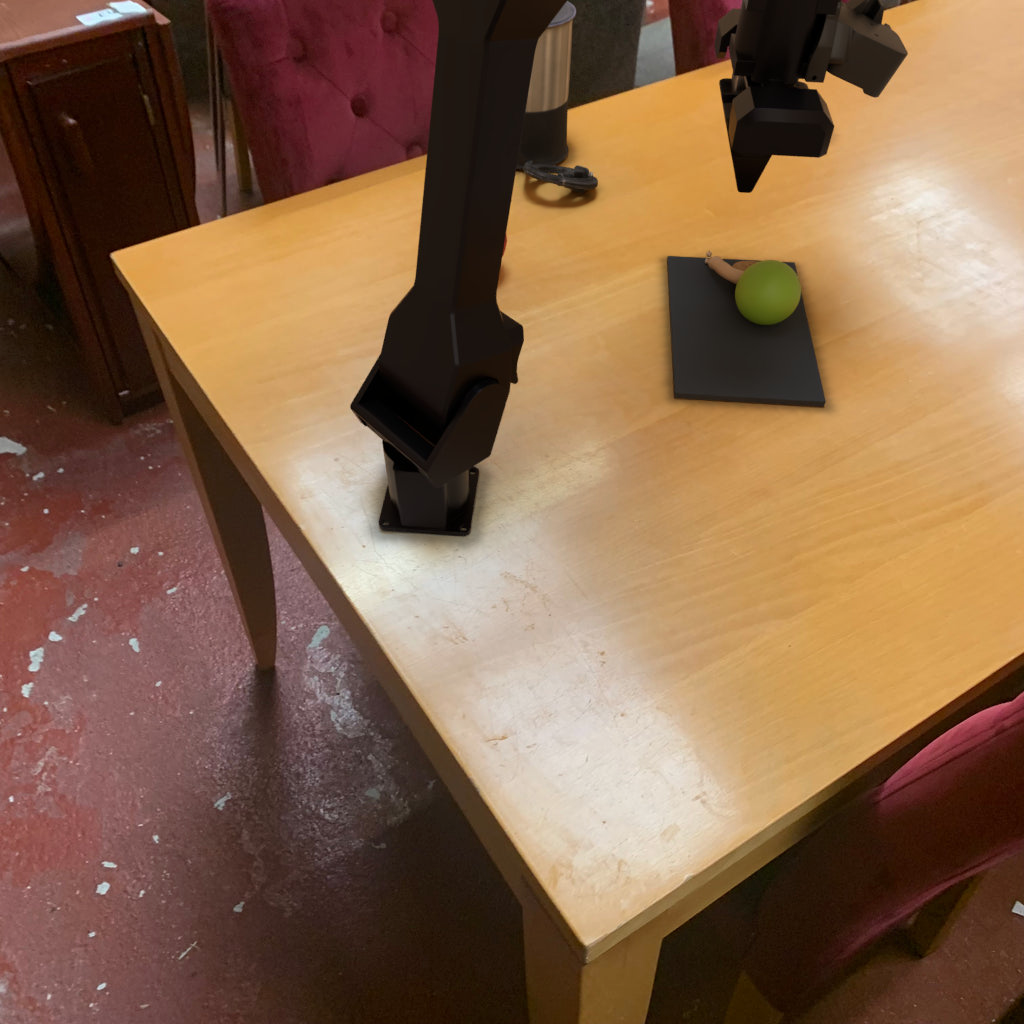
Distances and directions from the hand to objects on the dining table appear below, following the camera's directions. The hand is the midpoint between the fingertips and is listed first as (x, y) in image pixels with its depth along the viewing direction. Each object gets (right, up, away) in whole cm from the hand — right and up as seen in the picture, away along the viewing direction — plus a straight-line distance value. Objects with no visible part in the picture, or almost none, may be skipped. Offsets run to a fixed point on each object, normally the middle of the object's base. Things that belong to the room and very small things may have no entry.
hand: (744, 190), depth 70 cm
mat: (+2, -9, +9) cm, 13 cm away
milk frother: (-15, +12, +28) cm, 34 cm away
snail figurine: (+3, -8, +4) cm, 9 cm away
